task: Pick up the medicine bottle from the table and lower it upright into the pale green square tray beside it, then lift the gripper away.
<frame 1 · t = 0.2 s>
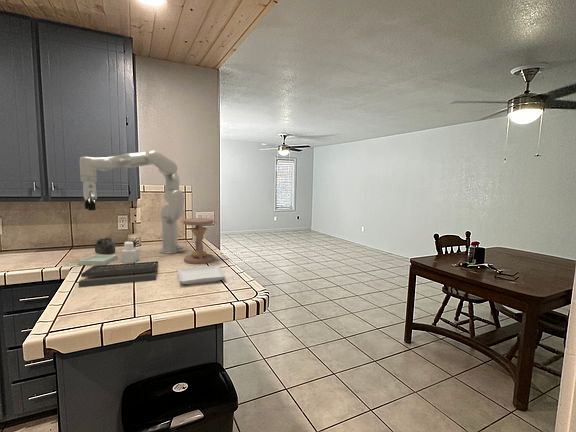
hand: (90, 209, 170), 31 cm above the countertop, tool pointing down, fingers open, 9 cm apart
medicine bottle: (130, 261, 178), on the countertop
pale green square tray: (98, 261, 174), on the countertop
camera: (105, 253, 196), on the countertop
hourglass: (199, 260, 183), on the countertop
grey flat square slab: (200, 279, 150), on the countertop
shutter: (123, 275, 154), on the countertop
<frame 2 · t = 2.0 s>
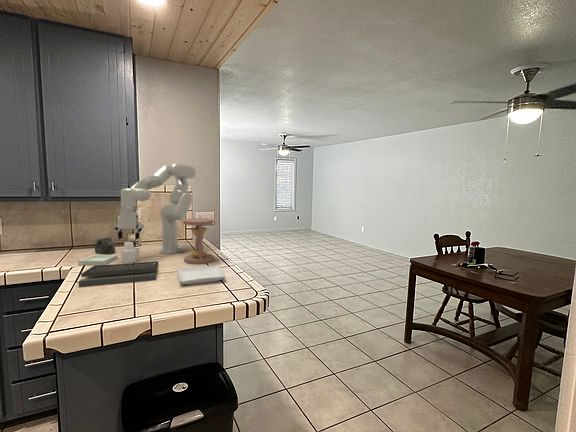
hand: (128, 238, 175), 14 cm above the countertop, tool pointing down, fingers open, 9 cm apart
nothing on the countertop moved.
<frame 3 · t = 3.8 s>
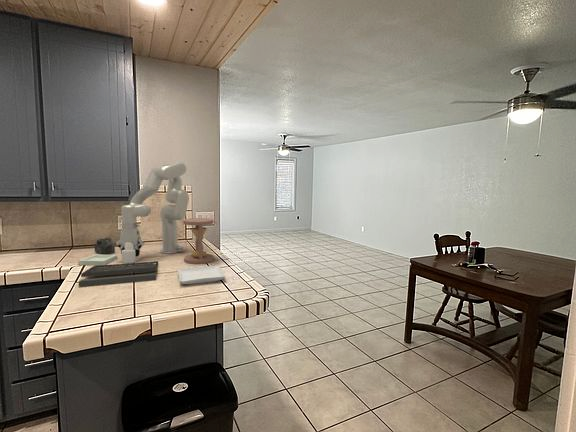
hand: (130, 255, 177), 3 cm above the countertop, tool pointing down, fingers closed on medicine bottle, 7 cm apart
medicine bottle: (130, 261, 178), on the countertop, touching gripper
everything else where it was.
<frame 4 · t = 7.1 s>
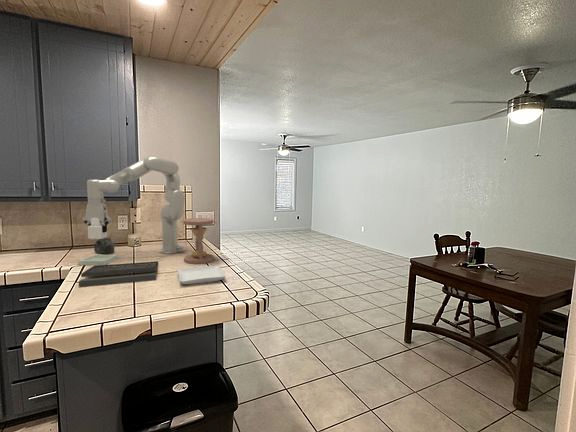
hand: (97, 231, 172), 18 cm above the countertop, tool pointing down, fingers closed on medicine bottle, 7 cm apart
medicine bottle: (97, 238, 173), point 14 cm above the countertop, touching gripper
everything else where it was.
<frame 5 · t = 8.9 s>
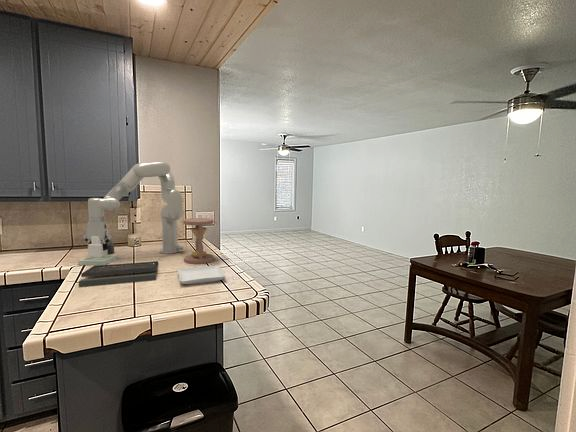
hand: (98, 249, 173), 7 cm above the countertop, tool pointing down, fingers closed on medicine bottle, 7 cm apart
medicine bottle: (98, 255, 174), point 4 cm above the countertop, touching gripper
everything else where it was.
when the fingers open (5 cm above the countertop, at t = 10.4 s): medicine bottle stays where it is, resting on pale green square tray.
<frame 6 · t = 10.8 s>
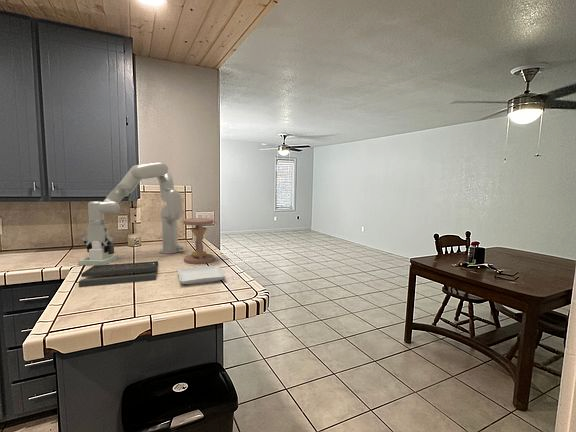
hand: (98, 252, 174), 6 cm above the countertop, tool pointing down, fingers open, 9 cm apart
medicine bottle: (99, 260, 174), point 1 cm above the countertop, touching pale green square tray
everything else where it was.
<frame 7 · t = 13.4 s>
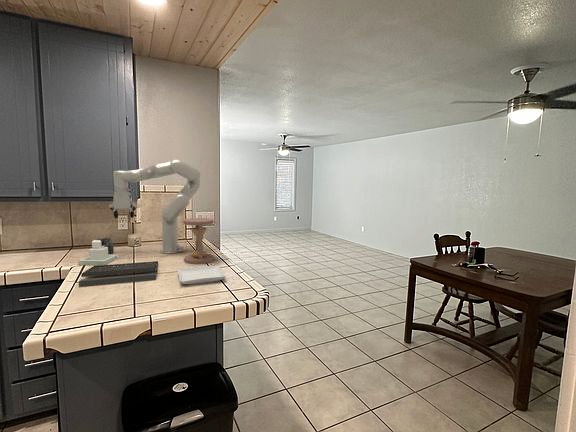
hand: (124, 217, 189), 24 cm above the countertop, tool pointing down, fingers open, 9 cm apart
nothing on the countertop moved.
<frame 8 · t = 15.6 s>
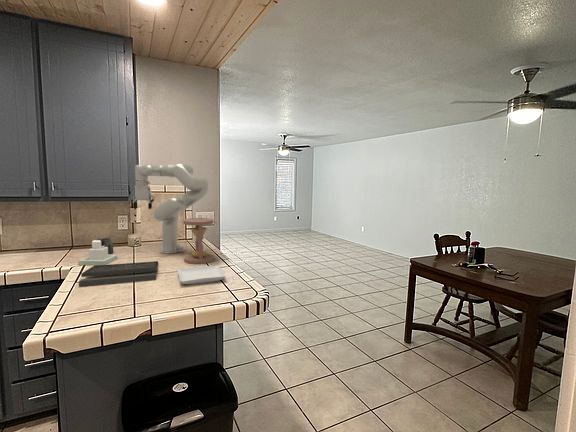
hand: (142, 208, 204), 28 cm above the countertop, tool pointing down, fingers open, 9 cm apart
nothing on the countertop moved.
at the end: medicine bottle 0.2 cm off-centre on the pale green square tray, point 0.8 cm above the pale green square tray's base; medicine bottle tilted 0°; the gripper is holding nothing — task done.
